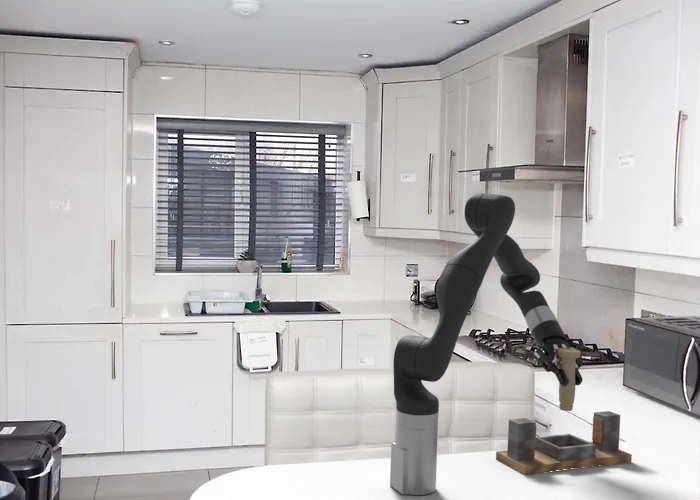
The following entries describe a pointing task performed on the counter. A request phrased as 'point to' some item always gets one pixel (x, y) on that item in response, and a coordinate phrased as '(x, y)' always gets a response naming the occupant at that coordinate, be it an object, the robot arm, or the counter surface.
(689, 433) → the counter surface
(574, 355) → the handle
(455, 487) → the counter surface
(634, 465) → the counter surface
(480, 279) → the robot arm
